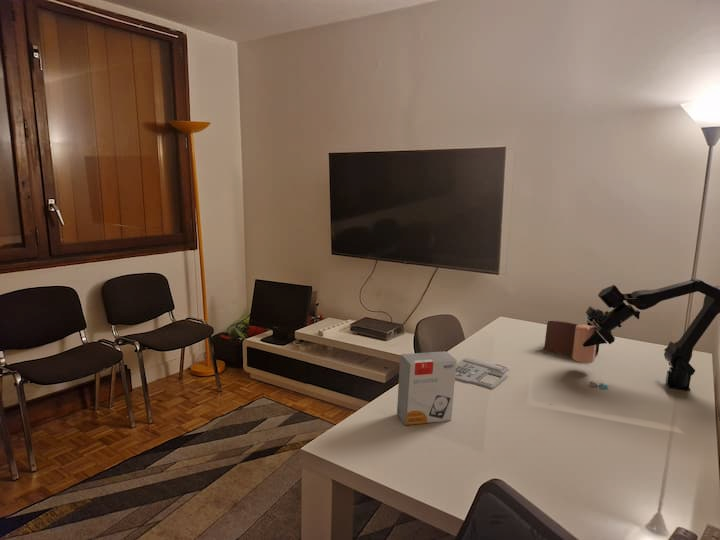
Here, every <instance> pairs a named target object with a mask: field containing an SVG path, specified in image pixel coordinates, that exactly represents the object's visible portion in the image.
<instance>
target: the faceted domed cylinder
mask: <svg viewBox="0 0 720 540" xmlns="http://www.w3.org/2000/svg"><path fill="white" fill-rule="evenodd" d="M594 329H595V330H596V329H597V328H596V327H594V326H590V325H587V324H577V326H576V328H575V337H574V345H573V354H572V356H571V357H572V360H574V361H576V362H578V363H583V364H592V363H594V362H595V358H596V357H595V352H596V345H592V346H587V347H584V346H583V344H584V342H585V341H587V340H588V339H589V338H590V337H591V336H592V335H593V332H594ZM596 331H597V330H596ZM597 332H598V331H597Z"/></svg>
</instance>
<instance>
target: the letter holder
mask: <svg viewBox="0 0 720 540" xmlns="http://www.w3.org/2000/svg"><path fill="white" fill-rule="evenodd" d="M577 325H578V324H576V323H573V322H568V321H567V322H566V321H559V320H548V321H547V324H546V329H545V330H546V331H545V339H544V347H543V349H544V350H546V351H550V352H554V353H558V354H561V355H566V356H569V357H570V356H571V357H572V354H573V345H574V337H575V328H576V326H577ZM599 348H600V344H597V345H596V352H595V358H596V357H597V356H598V355H599V350H600V349H599Z"/></svg>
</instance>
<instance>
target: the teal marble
mask: <svg viewBox="0 0 720 540" xmlns="http://www.w3.org/2000/svg"><path fill="white" fill-rule="evenodd" d="M597 388H598V389H601V390H609V386H608V385H607V384H606V383H605V382H601V383H599V384H598V387H597Z"/></svg>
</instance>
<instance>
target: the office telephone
mask: <svg viewBox="0 0 720 540" xmlns="http://www.w3.org/2000/svg"><path fill="white" fill-rule="evenodd" d="M508 371H510V370H509V367H506V365H502V364H498V363H495V362H490V361H487V360H483V359H479V358H475V357H472V356H466V357H465V358H464V359H462V360H461V361H459V362H456V373H455V381H460V382H462V383H465V384H473V385H475V386H476V385H477V386H479V387H480V386H481V387H483V388H487V389H489V390H495V389H496V388H498V386H500V385H501V384H502V383H503V382H504V381H505V380H506V379H508V374H506V373H507V372H508ZM487 375H491V376H495V377H497V378H498V377H499V379H498V380H496V382H494V383H489V382H486V381H481V380H482V379H484V377H486V376H487Z"/></svg>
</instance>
